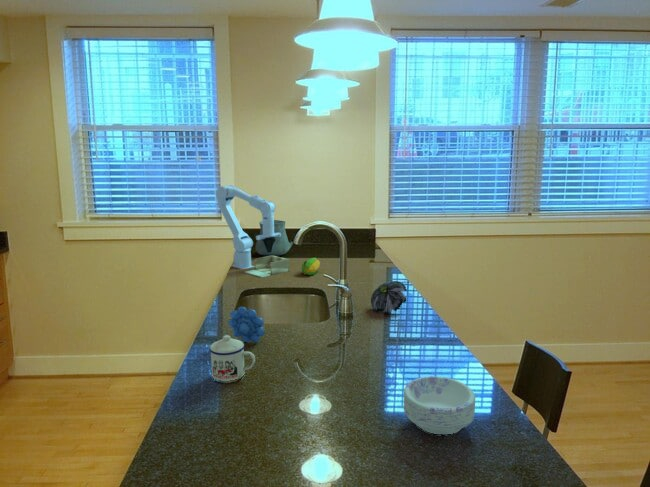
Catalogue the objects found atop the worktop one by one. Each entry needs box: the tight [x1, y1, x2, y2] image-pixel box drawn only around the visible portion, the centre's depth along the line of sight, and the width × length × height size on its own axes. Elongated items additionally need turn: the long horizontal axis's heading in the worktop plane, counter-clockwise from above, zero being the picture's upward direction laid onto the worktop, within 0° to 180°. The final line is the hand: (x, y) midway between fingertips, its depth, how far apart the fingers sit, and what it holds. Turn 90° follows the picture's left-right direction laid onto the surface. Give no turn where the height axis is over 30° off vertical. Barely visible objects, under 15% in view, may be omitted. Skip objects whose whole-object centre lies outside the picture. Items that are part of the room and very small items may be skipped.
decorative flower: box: [370, 280, 408, 316], centre depth 188 cm, size 14×12×15 cm
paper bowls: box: [403, 375, 476, 435], centre depth 108 cm, size 15×15×8 cm
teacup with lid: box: [209, 334, 256, 381], centre depth 132 cm, size 12×9×12 cm
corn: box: [301, 257, 321, 276], centre depth 246 cm, size 7×8×20 cm
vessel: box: [255, 219, 293, 257], centre depth 289 cm, size 22×22×20 cm
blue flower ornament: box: [228, 306, 266, 343], centre depth 155 cm, size 12×7×12 cm, turn 84°
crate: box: [254, 255, 290, 276], centre depth 249 cm, size 14×11×7 cm
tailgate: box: [243, 269, 271, 278], centre depth 243 cm, size 14×1×6 cm
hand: (269, 252), depth 252 cm, fingers closed
